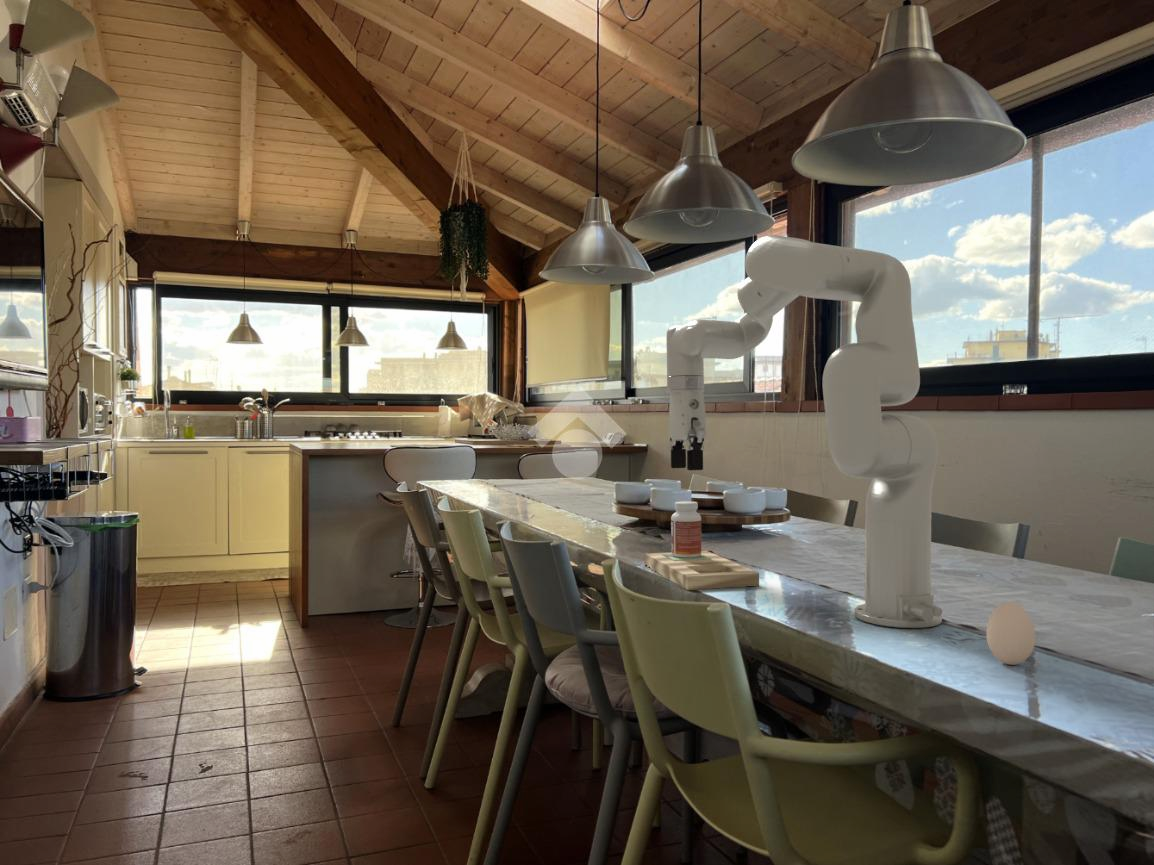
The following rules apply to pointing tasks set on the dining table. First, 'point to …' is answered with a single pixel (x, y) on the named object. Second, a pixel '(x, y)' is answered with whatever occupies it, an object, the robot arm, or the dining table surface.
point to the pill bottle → (686, 530)
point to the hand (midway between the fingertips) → (686, 469)
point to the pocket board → (701, 571)
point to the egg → (1010, 633)
